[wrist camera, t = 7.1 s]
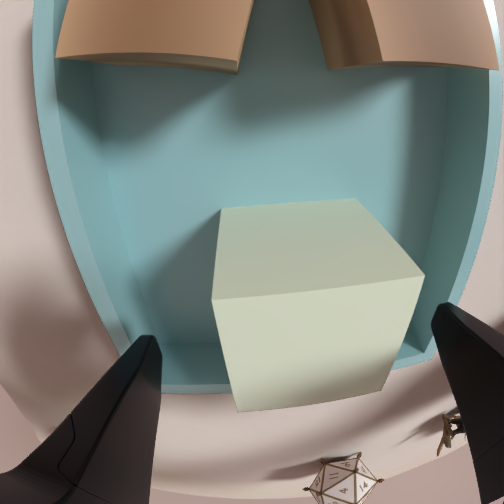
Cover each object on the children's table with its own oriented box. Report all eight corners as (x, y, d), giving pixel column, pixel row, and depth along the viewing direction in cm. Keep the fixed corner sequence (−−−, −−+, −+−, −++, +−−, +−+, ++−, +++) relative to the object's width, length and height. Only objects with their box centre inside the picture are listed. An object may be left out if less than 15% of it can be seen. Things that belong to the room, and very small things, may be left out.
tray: (438, -28, 5) (481, -42, 3) (408, 320, 15) (430, 359, 12) (81, -28, 5) (41, -50, 3) (152, 346, 15) (141, 392, 12)
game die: (330, 429, 30) (364, 470, 20) (371, 452, 30) (408, 488, 20) (283, 477, 28) (301, 526, 19) (327, 496, 28) (352, 538, 19)
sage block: (356, 198, 10) (424, 275, 6) (344, 301, 13) (381, 390, 9) (221, 208, 10) (211, 300, 6) (236, 313, 13) (237, 411, 9)
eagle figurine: (425, 441, 27) (475, 429, 26) (444, 469, 20) (498, 451, 19) (439, 392, 27) (490, 382, 26) (465, 416, 20) (518, 400, 19)
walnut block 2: (399, -24, 6) (462, -53, 2) (424, 66, 8) (499, 71, 4) (298, -29, 6) (332, -83, 3) (327, 70, 8) (382, 61, 5)
